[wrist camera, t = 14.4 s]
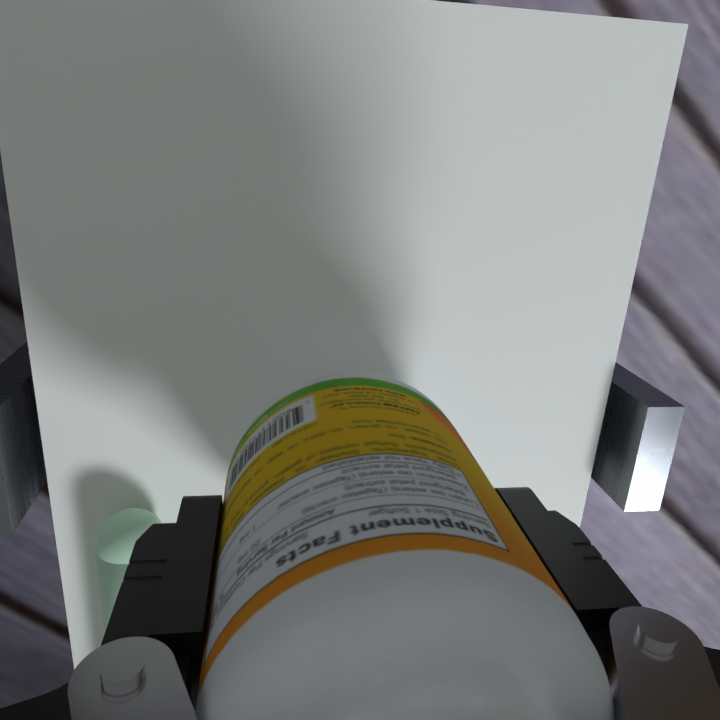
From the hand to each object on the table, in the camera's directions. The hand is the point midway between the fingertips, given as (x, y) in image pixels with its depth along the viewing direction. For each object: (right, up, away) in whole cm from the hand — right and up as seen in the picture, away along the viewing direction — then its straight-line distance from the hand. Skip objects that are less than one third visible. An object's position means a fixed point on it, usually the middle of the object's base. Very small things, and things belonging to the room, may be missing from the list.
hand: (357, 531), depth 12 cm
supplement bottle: (0, +1, +2) cm, 2 cm away
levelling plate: (-1, +1, +4) cm, 4 cm away
